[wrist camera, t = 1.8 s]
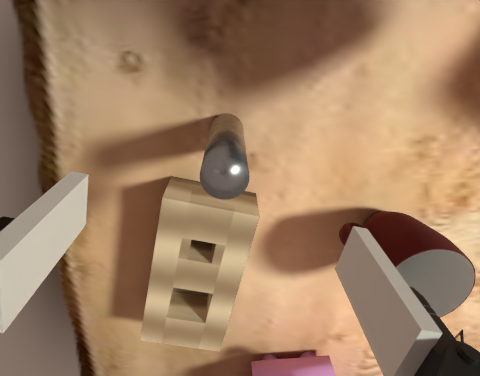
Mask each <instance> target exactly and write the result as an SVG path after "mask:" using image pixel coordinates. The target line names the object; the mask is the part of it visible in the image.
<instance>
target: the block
mask: <svg viewBox="0 0 480 376" xmlns="http://www.w3.org/2000/svg"><path fill="white" fill-rule="evenodd" d="M259 217H260V216H259V210H258V204H257V197H256V193H251V192H246V191H244V192H243V193H242V194H240V195H239V196H237V197H235V198H232V199H227V200H222V199H217V198H214V197H212V196H211V195H209V194H208V193H207V192H206V191H205V190H204V189H203V187H202V185H201V182H197V181H192V180H187V179H182V178H178V177H173V176H171V178H170V180H169V183H168V185H167V188H166V190H165V192H164V195H163V197H162V203H161V209H160V216H159V222H158V228H157V235H156V241H155V248H154V254H153V260H152V267H151V273H150V279H149V286H148V292H147V298H146V305H145V311H144V318H143V324H142V330H141V337H140V340H143V341H150V342H157V343H164V344H171V345H178V346H185V347H192V348H199V349H206V350H213V351H220V348H221V345H222V342H223V338H224V335H225V332H226V328H227V325H228V321H229V318H230V315H231V311H232V308H233V305H234V301H235V298H236V295H237V291H238V288H239V284H240V281H241V278H242V274H243V271H244V268H245V264H246V261H247V257H248V254H249V251H250V247H251V244H252V241H253V237H254V234H255V231H256V227H257V224H258V220H259Z"/></svg>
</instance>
